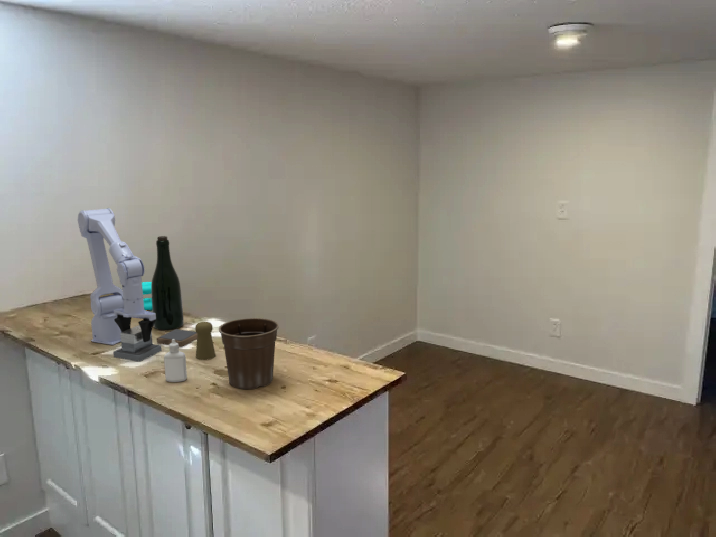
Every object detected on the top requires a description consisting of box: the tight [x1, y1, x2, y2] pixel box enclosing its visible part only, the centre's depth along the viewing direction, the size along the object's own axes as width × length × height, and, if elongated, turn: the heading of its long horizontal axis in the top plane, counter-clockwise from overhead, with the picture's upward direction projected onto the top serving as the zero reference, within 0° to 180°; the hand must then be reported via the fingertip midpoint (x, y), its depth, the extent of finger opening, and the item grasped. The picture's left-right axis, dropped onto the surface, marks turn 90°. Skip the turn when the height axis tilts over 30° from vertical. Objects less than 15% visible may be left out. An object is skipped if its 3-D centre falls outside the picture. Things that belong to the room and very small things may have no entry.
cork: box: [194, 321, 216, 361], centre depth 176 cm, size 6×6×11 cm
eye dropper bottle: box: [163, 339, 188, 383], centre depth 158 cm, size 4×6×12 cm
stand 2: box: [156, 328, 197, 348], centre depth 191 cm, size 10×10×2 cm
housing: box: [120, 324, 154, 353], centre depth 178 cm, size 5×8×6 cm, turn 159°
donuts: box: [142, 281, 152, 311], centre depth 227 cm, size 10×10×10 cm
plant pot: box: [218, 317, 280, 390], centre depth 157 cm, size 16×16×16 cm
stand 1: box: [113, 343, 163, 363], centre depth 178 cm, size 10×10×2 cm
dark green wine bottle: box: [150, 235, 185, 331], centre depth 202 cm, size 10×10×33 cm
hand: (137, 339), depth 178 cm, fingers open, 7 cm apart
